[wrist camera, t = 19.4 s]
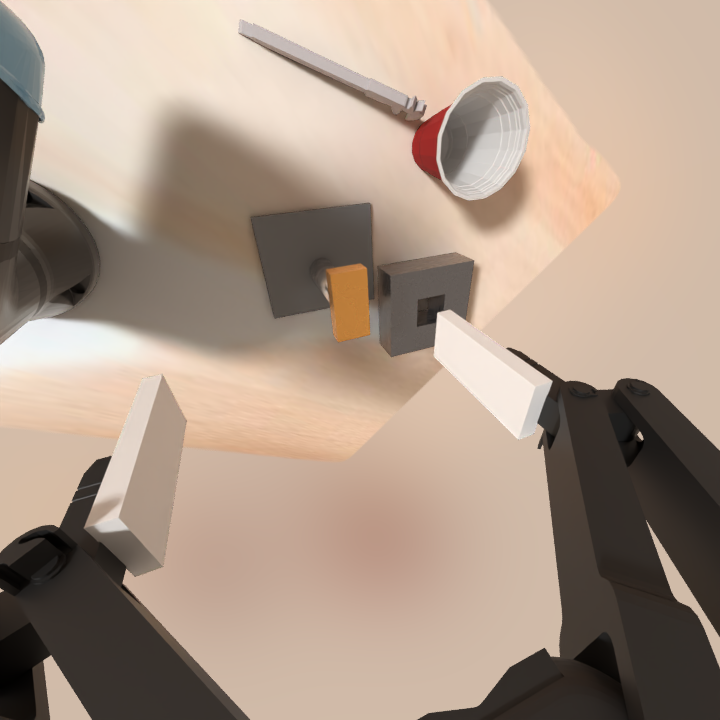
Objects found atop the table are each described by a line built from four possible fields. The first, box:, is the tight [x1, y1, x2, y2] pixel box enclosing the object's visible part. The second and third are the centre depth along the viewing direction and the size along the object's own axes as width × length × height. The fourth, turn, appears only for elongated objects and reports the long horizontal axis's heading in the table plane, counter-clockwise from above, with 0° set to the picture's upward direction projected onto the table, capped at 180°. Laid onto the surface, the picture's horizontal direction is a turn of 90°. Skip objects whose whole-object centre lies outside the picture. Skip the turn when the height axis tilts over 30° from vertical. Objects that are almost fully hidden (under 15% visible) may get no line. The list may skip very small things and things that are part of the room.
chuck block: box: [377, 253, 474, 357], centre depth 53 cm, size 14×14×5 cm
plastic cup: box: [412, 76, 530, 201], centre depth 38 cm, size 11×11×12 cm
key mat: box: [251, 203, 374, 318], centre depth 45 cm, size 16×14×1 cm
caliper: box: [238, 20, 427, 121], centre depth 33 cm, size 20×1×6 cm, turn 72°
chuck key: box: [310, 258, 370, 342], centre depth 40 cm, size 8×4×14 cm, turn 4°
